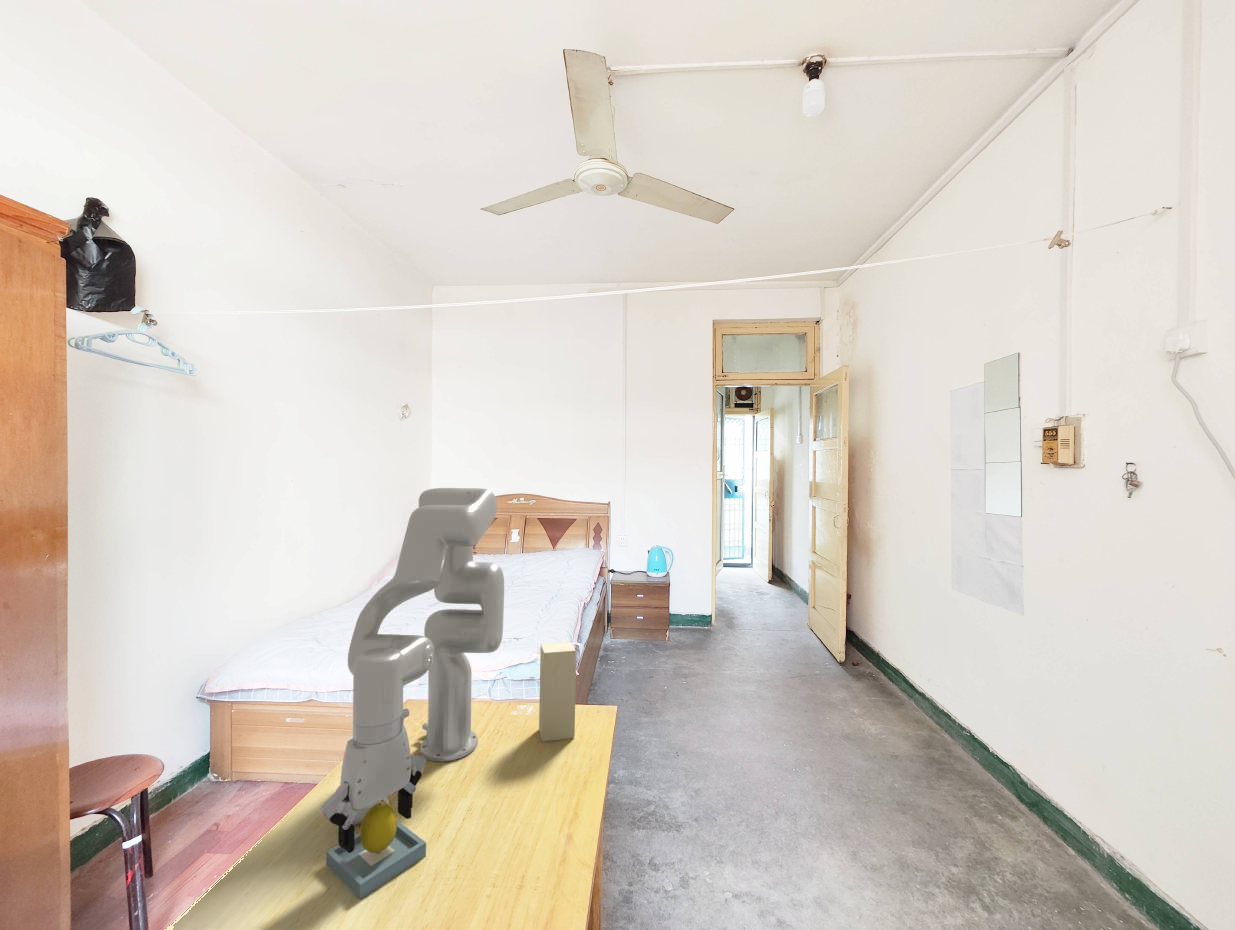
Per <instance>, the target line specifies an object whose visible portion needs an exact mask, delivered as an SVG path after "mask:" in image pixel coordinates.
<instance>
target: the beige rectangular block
mask: <svg viewBox="0 0 1235 930" xmlns="http://www.w3.org/2000/svg"><path fill="white" fill-rule="evenodd" d="M539 654H540V655H539V656H540V658H539V659H540V664H539V668H540V669H539V707H538V708H539V711H538V715H539V716H538V729H539V734H540V737H541V741H542V742H552V741H559V740H568V739H573V738H575V732H576V730H575V729H576V728H575V727H576V726H575V724H576V682H577V681H576V679H577V677H576V675H577V674H576V673H577V651H576V649H575V646H574V645H573V643H572V642H571V641H570V642H567V641H566V642H553V643H542V644H540V653H539Z"/></svg>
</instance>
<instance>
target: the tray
mask: <svg viewBox="0 0 1235 930" xmlns="http://www.w3.org/2000/svg"><path fill="white" fill-rule="evenodd" d="M325 854H326V856H325V858H326V859H325V861H326V862H325V865H326V866H327V867H328V869H329V870H330V871H332V872H333V874H334V875H335V876H336V877H337V878H338V879H339V880H340V881H341V882H342V883H343V884H344V885H345V886H346V887H347V888H348V889H349V890H350V892H351V891H352V893H353V894H354V895H355V896H356V897H357V898H358V899H359V900H362V899H363V898H365V897H366V896H367V895H370V894H371V893H372V892H374V891H375V890H377V889H378V888H380V887H381V886H383V885H384V884H385V883H387V882H389V881H390V880H392V879H393V878H394V877H396V876H397V875H400V873H402V872H404V871H405V870H407V869H408V868H410V867H411V866H413V865H414V864H415V863H418V862H419V861H420V860H421V859H423V858H425V857H426V856H427V842H426V841H425V840H423V839H422V838H421V837H419V836H418V835H417V834H416V833H414V832H413V831H412V830H411V829H410V828H408V827H406V826H405V825H404V824H403V823H401V822H400V821H399V820H397V830H396V834H395V837H394V839H393V841H392V842H391V844H390V845H389V846H388V847H387V848H386V849H384V850H383V851H381V852H380V853H371V852H368V851H367V850H365V848H364V847H363V846H362V843H361V839H360V832H358V833H356V834H355V835H354V850H353V852H351V853H348V852H347V851H346V850H345V849H344V848H341V847H340V846H339V844H337V845H334V847H332V848H330V849H328V850H327V851H326V853H325Z"/></svg>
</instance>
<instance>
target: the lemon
mask: <svg viewBox="0 0 1235 930" xmlns="http://www.w3.org/2000/svg"><path fill="white" fill-rule="evenodd" d="M397 821H398V819H397V814H396V811H395V809H394V808H393V807H392V805H390V804H386V803H385V802H382V803H381V802H380V803H378V804H376V805H374V806H373V807H371V808H370V809H369V810H368V811H367V812H366V814H365V816H364V818H363V820H362V823H360V824H361V825H360V829H359V833H360V839H361V843H362V846H363V847H364V848H365V850H367V851H368V852H371V853H380V852H381V851H383V850H384V849H386V848H387V847H388V846H389V845H390V844H391V842H392V841H393V839H394V837H395V834H396V830H397Z"/></svg>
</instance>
